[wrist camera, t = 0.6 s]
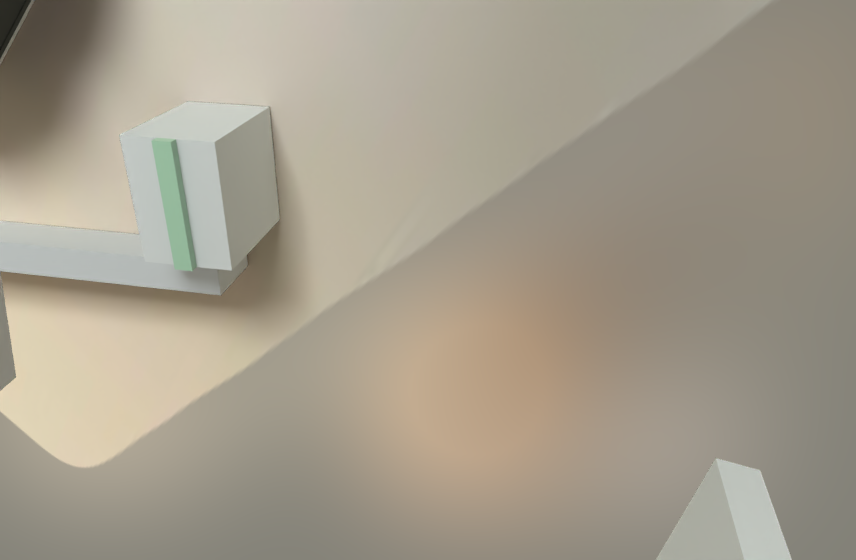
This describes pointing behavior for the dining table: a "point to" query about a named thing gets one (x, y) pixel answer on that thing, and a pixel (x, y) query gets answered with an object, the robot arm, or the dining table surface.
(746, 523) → the robot arm
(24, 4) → the camera
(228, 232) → the rail mount
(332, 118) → the dining table surface
